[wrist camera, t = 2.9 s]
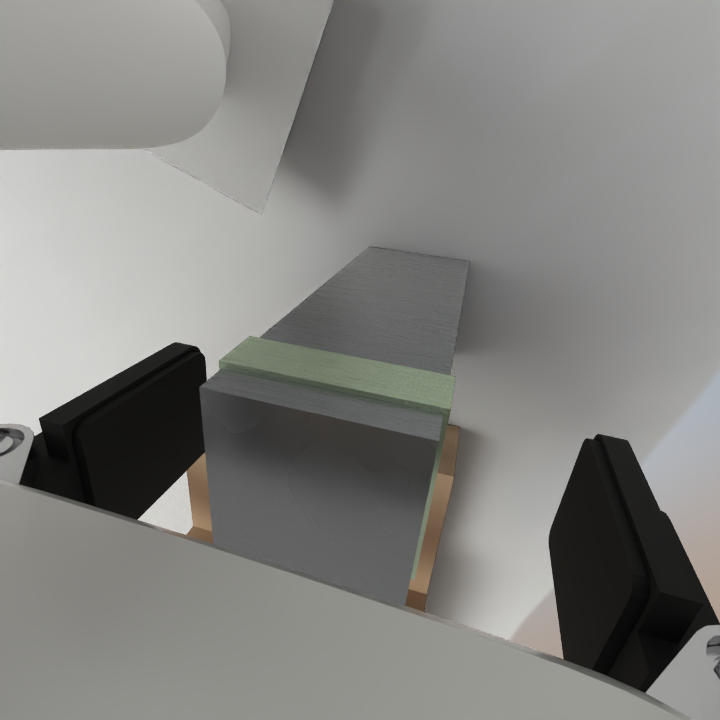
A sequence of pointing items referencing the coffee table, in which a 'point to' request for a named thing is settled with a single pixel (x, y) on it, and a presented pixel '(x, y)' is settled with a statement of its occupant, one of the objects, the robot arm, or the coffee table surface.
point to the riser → (431, 535)
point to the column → (339, 424)
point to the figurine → (161, 81)
